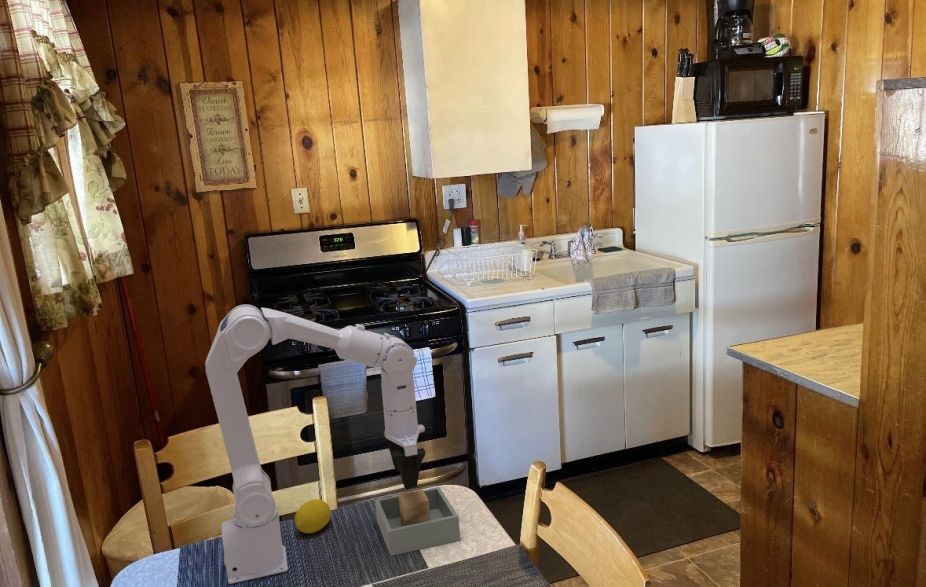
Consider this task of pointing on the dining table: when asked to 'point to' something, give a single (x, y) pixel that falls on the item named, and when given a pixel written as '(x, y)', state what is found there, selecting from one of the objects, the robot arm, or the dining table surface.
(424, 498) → the carton
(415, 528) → the tote
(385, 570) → the dining table surface
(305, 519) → the lemon
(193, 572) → the dining table surface
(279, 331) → the robot arm
